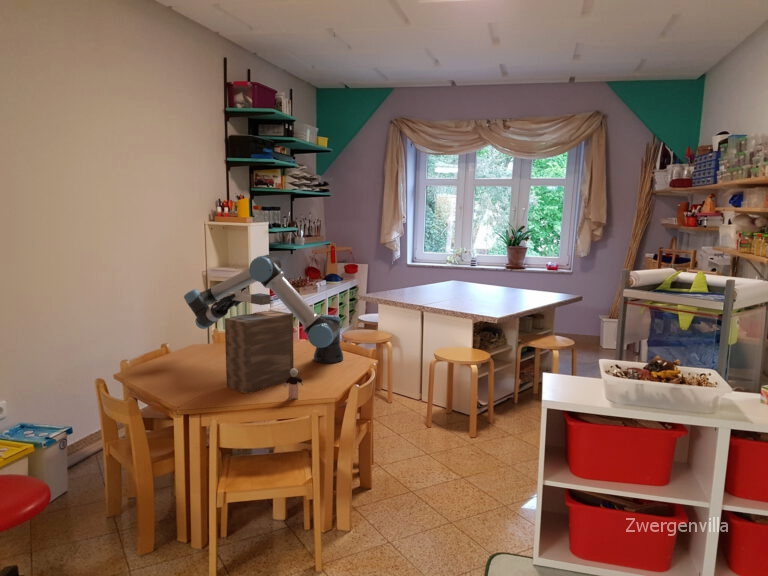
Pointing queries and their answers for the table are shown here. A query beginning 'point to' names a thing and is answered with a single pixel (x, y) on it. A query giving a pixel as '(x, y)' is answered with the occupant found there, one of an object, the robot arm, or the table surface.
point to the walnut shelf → (258, 350)
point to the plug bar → (253, 298)
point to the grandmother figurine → (293, 384)
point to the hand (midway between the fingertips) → (243, 291)
